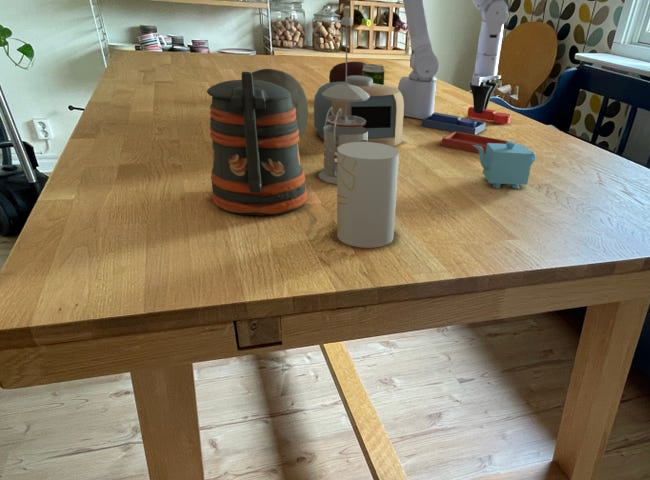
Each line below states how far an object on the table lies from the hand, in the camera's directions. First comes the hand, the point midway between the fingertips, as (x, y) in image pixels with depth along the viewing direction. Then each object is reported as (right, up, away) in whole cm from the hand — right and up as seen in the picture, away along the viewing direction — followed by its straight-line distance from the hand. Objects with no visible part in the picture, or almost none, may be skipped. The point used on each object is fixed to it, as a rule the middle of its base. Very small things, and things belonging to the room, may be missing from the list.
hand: (479, 112), depth 147 cm
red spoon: (+3, -2, 0) cm, 3 cm away
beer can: (-28, -5, -7) cm, 30 cm away
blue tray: (-8, -8, -9) cm, 14 cm away
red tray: (-4, -18, -23) cm, 29 cm away
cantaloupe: (-46, -26, -38) cm, 65 cm away
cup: (-26, -48, -67) cm, 87 cm away
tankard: (-43, -42, -60) cm, 85 cm away
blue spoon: (-8, -8, -9) cm, 14 cm away
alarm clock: (-31, -16, -22) cm, 41 cm away
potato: (-35, +5, +7) cm, 36 cm away
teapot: (-3, -33, -43) cm, 54 cm away
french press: (-32, -33, -46) cm, 65 cm away
